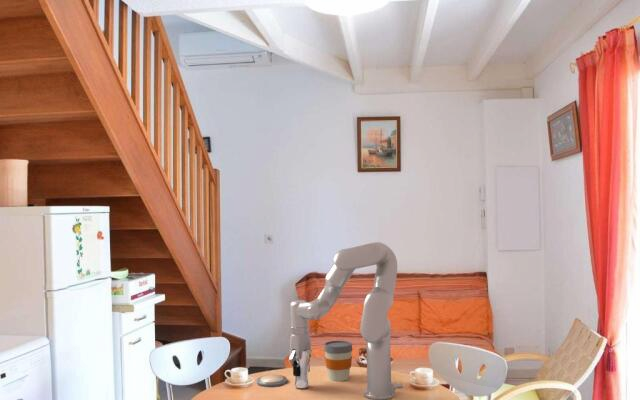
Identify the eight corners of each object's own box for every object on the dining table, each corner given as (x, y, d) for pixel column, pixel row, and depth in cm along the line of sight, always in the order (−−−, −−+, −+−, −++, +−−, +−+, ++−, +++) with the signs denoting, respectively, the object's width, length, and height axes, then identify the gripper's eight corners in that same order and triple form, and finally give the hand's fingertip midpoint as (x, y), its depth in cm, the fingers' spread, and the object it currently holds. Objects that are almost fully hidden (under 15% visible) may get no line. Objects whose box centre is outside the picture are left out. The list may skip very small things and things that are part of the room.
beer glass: (308, 388, 203) (307, 351, 204) (291, 388, 204) (290, 351, 205) (311, 383, 210) (310, 347, 211) (296, 383, 211) (294, 347, 212)
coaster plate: (283, 376, 223) (283, 372, 223) (290, 384, 211) (289, 381, 211) (254, 379, 219) (254, 375, 219) (259, 388, 207) (259, 384, 207)
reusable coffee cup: (321, 381, 214) (320, 346, 215) (329, 373, 226) (328, 339, 227) (349, 383, 211) (348, 347, 212) (355, 374, 223) (355, 341, 224)
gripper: (303, 325, 218) (305, 367, 217) (280, 333, 203) (282, 378, 202) (318, 327, 214) (319, 369, 213) (296, 335, 199) (297, 380, 198)
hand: (301, 373), depth 207 cm, fingers closed on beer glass, 6 cm apart
